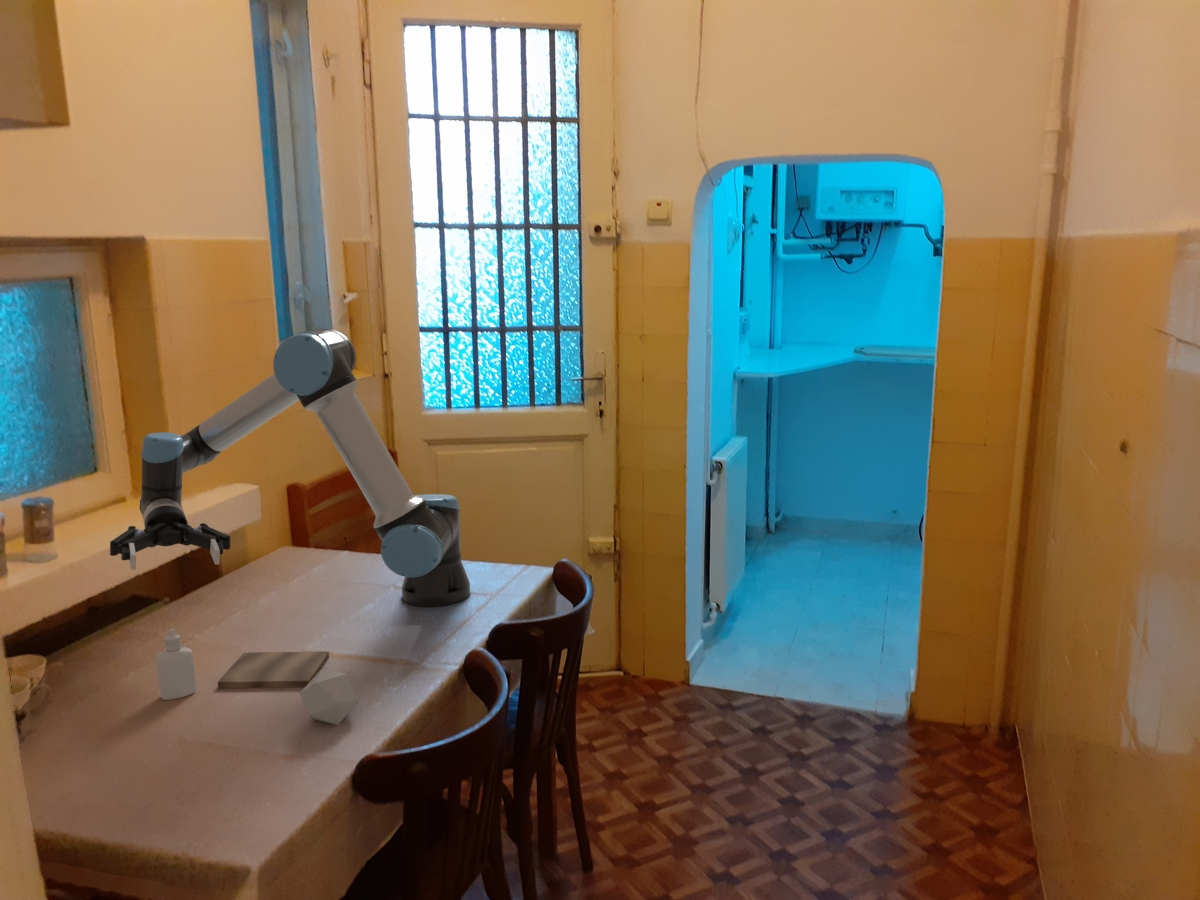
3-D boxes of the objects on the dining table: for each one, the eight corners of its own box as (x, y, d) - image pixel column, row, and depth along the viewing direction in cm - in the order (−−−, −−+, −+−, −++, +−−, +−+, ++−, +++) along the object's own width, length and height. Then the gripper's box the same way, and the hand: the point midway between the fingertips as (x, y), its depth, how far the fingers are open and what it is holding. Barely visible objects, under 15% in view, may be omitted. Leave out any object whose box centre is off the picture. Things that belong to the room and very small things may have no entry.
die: (370, 715, 145) (354, 660, 148) (352, 715, 137) (335, 656, 140) (324, 735, 145) (309, 679, 148) (303, 735, 136) (287, 676, 139)
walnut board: (329, 657, 165) (328, 651, 165) (309, 687, 154) (308, 680, 153) (244, 658, 165) (243, 652, 165) (218, 688, 153) (217, 682, 153)
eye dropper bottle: (167, 689, 153) (159, 625, 151) (200, 687, 154) (193, 623, 151) (156, 701, 149) (148, 635, 147) (190, 699, 149) (183, 634, 147)
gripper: (231, 537, 181) (249, 574, 164) (93, 544, 168) (96, 585, 151) (233, 502, 180) (251, 536, 162) (93, 507, 167) (96, 544, 149)
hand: (176, 560), depth 156 cm, fingers open, 13 cm apart
